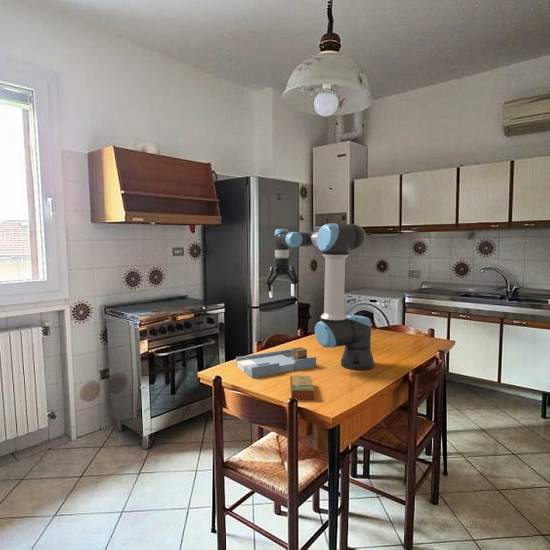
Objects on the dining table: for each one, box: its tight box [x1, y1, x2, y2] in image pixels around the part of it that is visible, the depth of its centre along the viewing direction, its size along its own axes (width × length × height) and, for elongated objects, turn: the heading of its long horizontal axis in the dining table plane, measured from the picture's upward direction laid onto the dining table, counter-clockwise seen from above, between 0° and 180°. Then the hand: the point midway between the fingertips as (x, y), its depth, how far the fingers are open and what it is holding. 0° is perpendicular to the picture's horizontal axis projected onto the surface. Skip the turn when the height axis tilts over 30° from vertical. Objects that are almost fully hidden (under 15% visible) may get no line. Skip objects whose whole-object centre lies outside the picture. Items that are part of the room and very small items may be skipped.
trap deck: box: [235, 348, 317, 379], centre depth 183 cm, size 18×32×4 cm, turn 118°
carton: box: [289, 375, 315, 401], centre depth 152 cm, size 8×16×4 cm, turn 0°
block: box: [291, 346, 308, 360], centre depth 183 cm, size 5×5×5 cm
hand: (282, 296), depth 218 cm, fingers open, 13 cm apart
